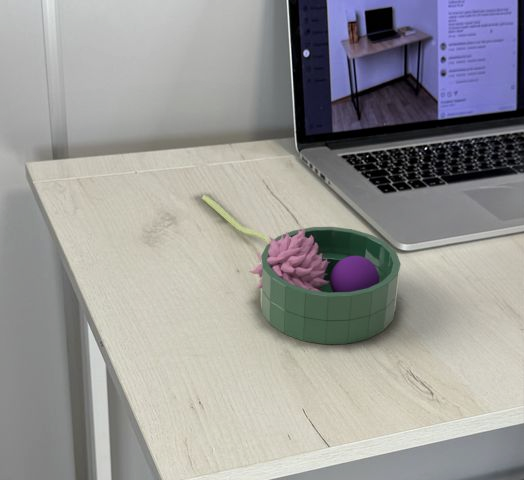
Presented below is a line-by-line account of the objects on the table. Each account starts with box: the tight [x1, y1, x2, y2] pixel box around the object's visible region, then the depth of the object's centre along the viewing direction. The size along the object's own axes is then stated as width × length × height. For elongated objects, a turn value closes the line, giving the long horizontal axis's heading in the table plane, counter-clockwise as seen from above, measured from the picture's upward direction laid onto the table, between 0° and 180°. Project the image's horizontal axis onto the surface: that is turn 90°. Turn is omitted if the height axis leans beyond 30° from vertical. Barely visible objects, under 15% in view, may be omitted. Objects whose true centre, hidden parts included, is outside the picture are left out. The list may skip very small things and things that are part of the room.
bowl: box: [260, 226, 402, 345], centre depth 73 cm, size 11×11×5 cm
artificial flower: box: [201, 194, 330, 291], centre depth 80 cm, size 7×7×25 cm
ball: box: [330, 256, 379, 292], centre depth 72 cm, size 4×4×4 cm
